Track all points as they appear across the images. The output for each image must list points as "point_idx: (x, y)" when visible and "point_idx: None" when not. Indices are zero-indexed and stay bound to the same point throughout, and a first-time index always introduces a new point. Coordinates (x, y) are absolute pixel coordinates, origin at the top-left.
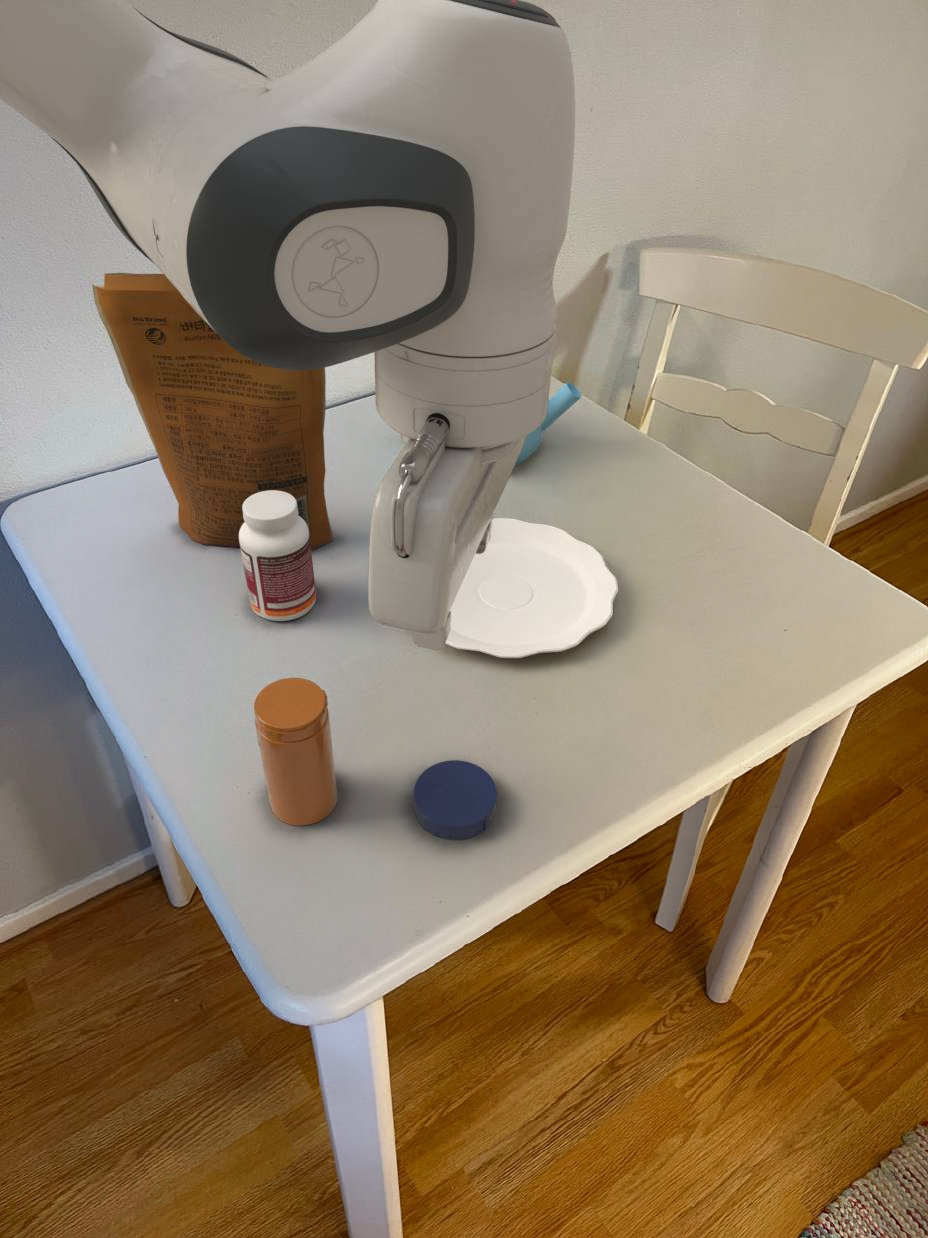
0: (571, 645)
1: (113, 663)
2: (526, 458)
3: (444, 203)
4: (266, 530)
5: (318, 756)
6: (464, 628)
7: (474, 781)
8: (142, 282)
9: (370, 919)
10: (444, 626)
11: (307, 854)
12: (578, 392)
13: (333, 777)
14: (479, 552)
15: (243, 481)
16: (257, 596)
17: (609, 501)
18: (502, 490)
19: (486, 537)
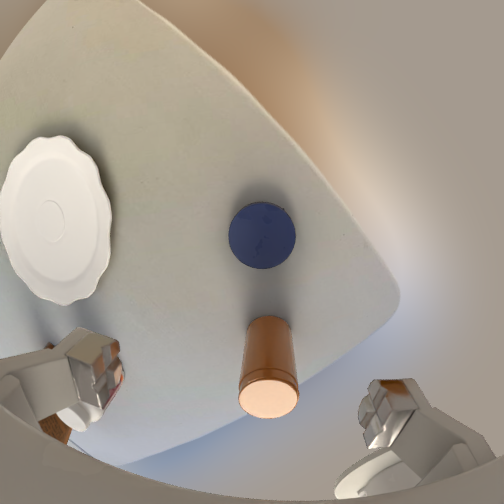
0: (91, 160)
1: (185, 434)
2: None
3: None
4: (87, 416)
5: (286, 356)
6: (87, 248)
7: (248, 222)
8: None
9: (357, 277)
10: (433, 408)
11: (312, 323)
12: None
13: (270, 329)
14: (117, 345)
15: (54, 416)
16: (117, 390)
17: None
18: (21, 450)
19: (95, 354)
